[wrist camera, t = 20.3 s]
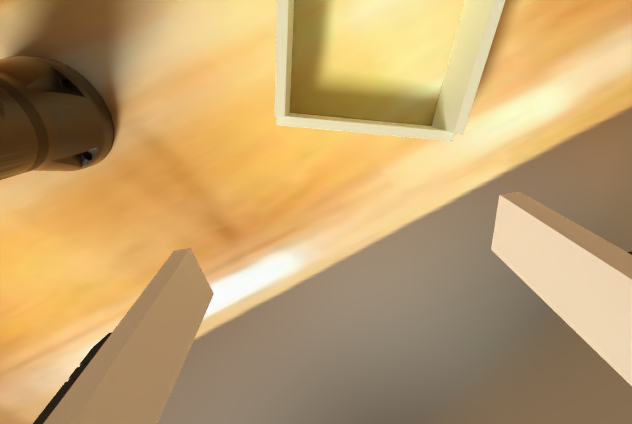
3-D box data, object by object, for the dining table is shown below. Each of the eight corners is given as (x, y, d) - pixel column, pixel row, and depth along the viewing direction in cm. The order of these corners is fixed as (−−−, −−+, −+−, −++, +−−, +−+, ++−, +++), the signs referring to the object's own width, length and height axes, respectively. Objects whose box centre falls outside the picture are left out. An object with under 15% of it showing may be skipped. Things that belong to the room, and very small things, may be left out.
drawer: (281, 120, 39) (271, 129, 31) (286, -55, 31) (275, -107, 22) (437, 135, 40) (468, 147, 32) (483, -33, 31) (541, -74, 23)
